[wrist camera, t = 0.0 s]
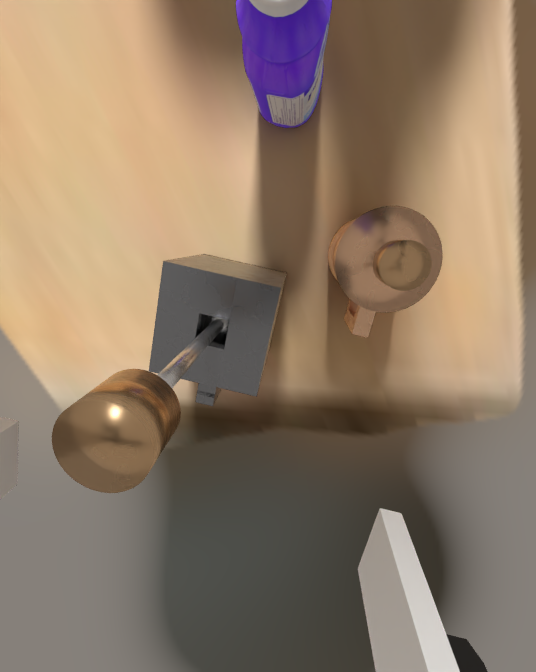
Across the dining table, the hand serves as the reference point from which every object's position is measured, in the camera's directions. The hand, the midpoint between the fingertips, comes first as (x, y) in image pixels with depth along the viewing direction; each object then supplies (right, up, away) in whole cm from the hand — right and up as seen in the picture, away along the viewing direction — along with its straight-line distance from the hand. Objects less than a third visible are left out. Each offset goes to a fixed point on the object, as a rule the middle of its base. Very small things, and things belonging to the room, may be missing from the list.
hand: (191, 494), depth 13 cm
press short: (+12, +13, +25) cm, 30 cm away
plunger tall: (-1, +7, +18) cm, 19 cm away
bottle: (+5, +29, +21) cm, 36 cm away
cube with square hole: (-1, +8, +27) cm, 28 cm away
